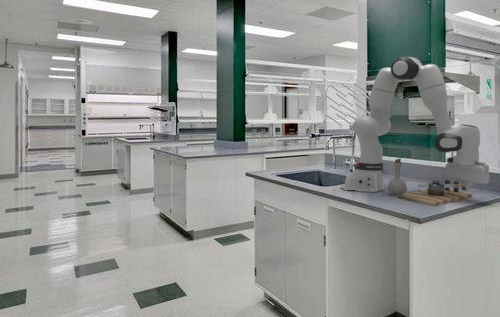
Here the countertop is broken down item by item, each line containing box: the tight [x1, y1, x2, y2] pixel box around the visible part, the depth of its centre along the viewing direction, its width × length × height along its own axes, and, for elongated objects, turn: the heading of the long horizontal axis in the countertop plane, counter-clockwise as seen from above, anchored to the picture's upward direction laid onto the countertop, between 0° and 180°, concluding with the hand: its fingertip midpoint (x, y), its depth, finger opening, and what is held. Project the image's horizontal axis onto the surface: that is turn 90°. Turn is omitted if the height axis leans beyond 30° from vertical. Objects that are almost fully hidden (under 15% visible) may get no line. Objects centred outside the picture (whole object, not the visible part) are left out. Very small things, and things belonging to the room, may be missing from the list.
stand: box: [397, 179, 473, 207], centre depth 168 cm, size 31×18×6 cm, turn 122°
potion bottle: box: [387, 158, 408, 197], centre depth 175 cm, size 9×9×18 cm
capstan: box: [417, 179, 461, 195], centre depth 168 cm, size 20×7×6 cm, turn 87°
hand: (465, 190), depth 162 cm, fingers closed
